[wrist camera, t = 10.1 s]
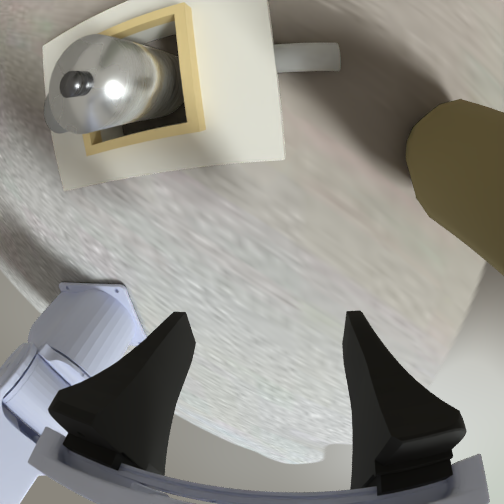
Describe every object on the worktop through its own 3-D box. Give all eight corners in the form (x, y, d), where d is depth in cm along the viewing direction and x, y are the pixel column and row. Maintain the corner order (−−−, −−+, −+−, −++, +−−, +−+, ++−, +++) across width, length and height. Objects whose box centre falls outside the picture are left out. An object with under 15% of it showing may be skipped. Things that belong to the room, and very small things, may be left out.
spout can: (133, 125, 18) (44, 151, 10) (123, 65, 16) (30, 61, 8) (195, 108, 17) (122, 119, 9) (184, 44, 15) (108, 12, 7)
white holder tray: (85, 180, 20) (54, 197, 17) (65, 47, 15) (31, 46, 11) (340, 150, 17) (353, 162, 14) (321, -18, 11) (328, -43, 8)
